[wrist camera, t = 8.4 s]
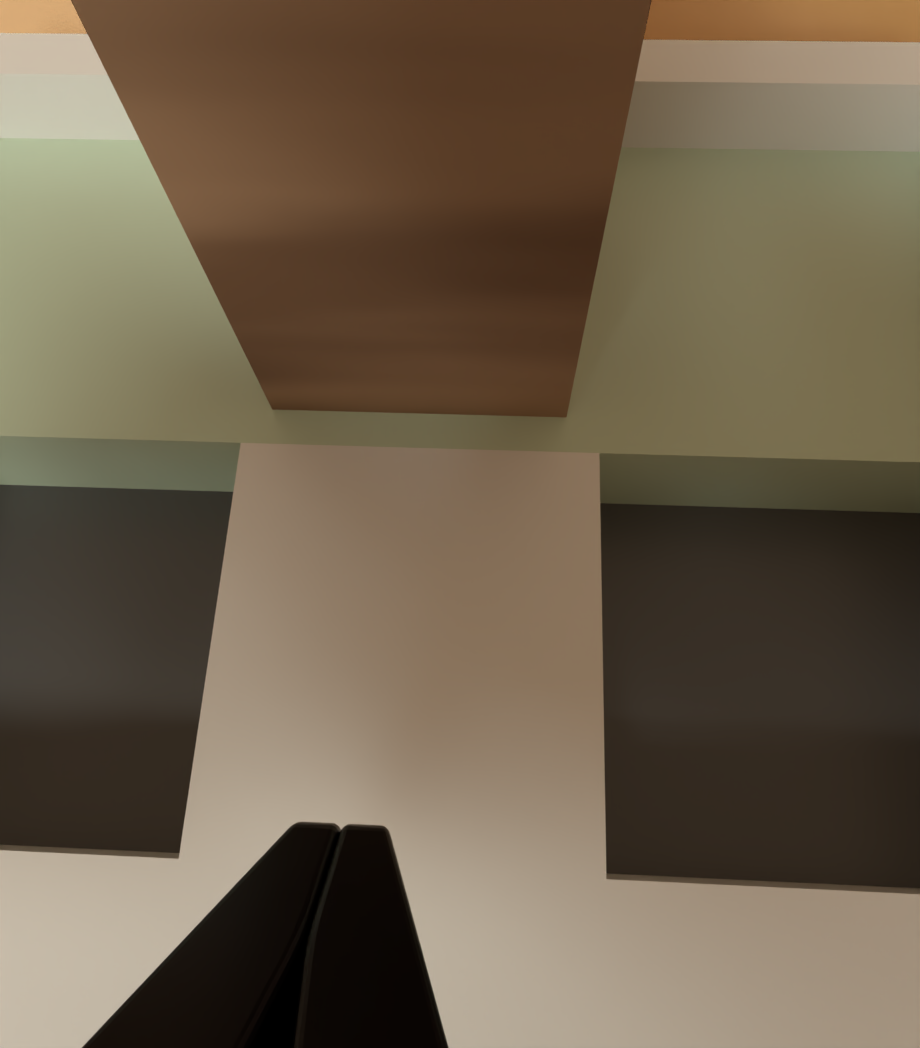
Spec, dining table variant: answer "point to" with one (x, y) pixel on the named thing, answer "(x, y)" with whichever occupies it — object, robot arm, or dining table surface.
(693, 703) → the trap box
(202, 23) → the block
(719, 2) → the dining table surface
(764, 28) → the dining table surface
